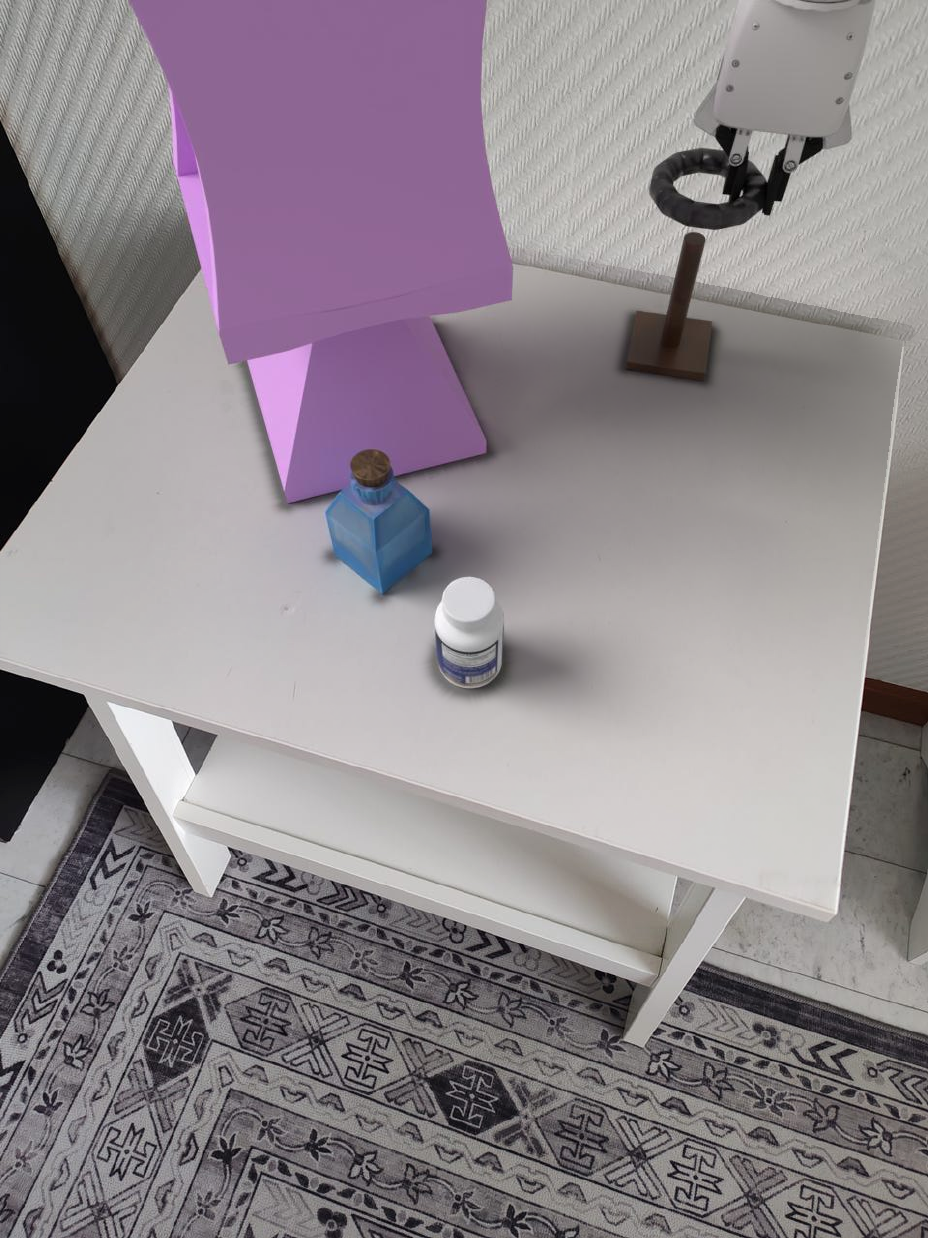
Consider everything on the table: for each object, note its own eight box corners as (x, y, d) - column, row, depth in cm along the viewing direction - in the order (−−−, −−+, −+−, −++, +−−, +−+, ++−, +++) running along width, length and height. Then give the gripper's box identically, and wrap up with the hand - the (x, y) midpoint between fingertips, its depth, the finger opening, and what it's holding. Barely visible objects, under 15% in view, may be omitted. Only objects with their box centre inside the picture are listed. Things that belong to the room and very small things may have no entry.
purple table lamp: (232, 357, 93) (61, -210, 54) (436, 311, 96) (411, -253, 58) (275, 518, 82) (99, -53, 43) (504, 459, 85) (530, -117, 47)
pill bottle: (452, 624, 75) (449, 558, 67) (511, 645, 74) (516, 581, 66) (427, 677, 73) (420, 615, 64) (487, 699, 72) (489, 639, 63)
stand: (710, 328, 94) (741, 217, 83) (703, 380, 90) (735, 271, 79) (635, 317, 95) (656, 206, 84) (625, 368, 91) (646, 259, 80)
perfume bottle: (432, 552, 79) (426, 462, 69) (382, 594, 77) (368, 508, 67) (384, 514, 82) (371, 422, 71) (334, 555, 79) (314, 465, 69)
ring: (766, 172, 80) (772, 151, 78) (759, 240, 75) (765, 219, 73) (655, 159, 81) (659, 137, 80) (641, 225, 76) (645, 204, 75)
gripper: (936, -51, 63) (843, 190, 79) (708, -72, 65) (662, 167, 81) (941, 0, 59) (842, 242, 75) (699, -24, 61) (652, 217, 77)
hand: (749, 201), depth 78 cm, fingers closed on ring, 2 cm apart
